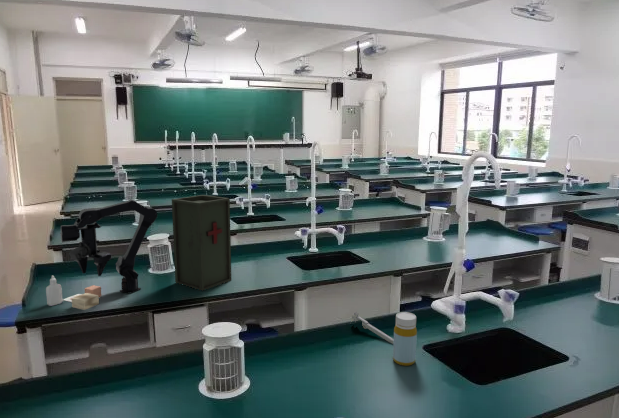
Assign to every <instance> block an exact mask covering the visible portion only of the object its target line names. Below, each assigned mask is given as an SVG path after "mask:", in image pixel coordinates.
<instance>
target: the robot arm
mask: <svg viewBox="0 0 619 418" xmlns="http://www.w3.org/2000/svg"><path fill="white" fill-rule="evenodd" d="M128 211H135V212H136V213H138V214H139V217H138V225H137V228H136V230H135V232H134V233H133V236H132V239H131V241H130V243H129V244H128V247H127V250H126V251H125V254H123V256H121V255H119V256H118V258H117V261H116V263H115V270H116V271H117V273H118V274H119V275H120V276H121V277H122V278H121V289H120V290H119V292H121V293H124V294H133V293H135V292H137V291H140V290H142V288H141V287H139V280H138V279H139V273H138V272H137V271H136V270H135V269H134V267H135V262H136V256H137V255H138V252H139V250H140V247H141V245H142V242H143V241H144V238H145V236H146V234H147V232H148V229H149V228H150V227H151V226H152V225H153V224H154V222H155V221H156V220H157V218H158V212H157V210H156V209H154V208H153V207H151V206H144V205H142V204H140V203H138V202H137V201H136V200H134V199H129V200H126V201H122V202H118V203H114V204H111V205H107V206H103V207H91V208H90V207H88V208H83V209H81V210H80V211H79V214H78V218H77V219H76V220H75V222H74V223H73V224H68V225H66V224H64V225H60V233H59V234H60V241H61V243H67V242H68V243H69V242H76V241H78V239H80V238H81V241H79V243H78V246H77V247H75V248H74V249H72V250H70V252H69V253H68V255H69V258H70V259H71V260H72V261H75V262H77V265H78V266H79V268H80V271H81V272H82V274H86V272H87V269H88V268H87V267H88V259H89V258H93V263H94V264H95V266H96V270H97V276H98V277H101V276H102V274H103V273H104V270H105V267H106V265H107V263H108V262H109V261H110V260H112V258H113V257H112V253H111V252H106V251H102V252H101V251H100V249H98V244H100V240H98V239H97V229H100V228H101V227H102V226H101V225H100V224H99V223H97V222H98V221H100V220H102V219H103V218H105V217H110V216H113V215H117V214H120V213H125V212H128Z"/></svg>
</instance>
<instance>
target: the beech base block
mask: <svg viewBox="0 0 619 418" xmlns="http://www.w3.org/2000/svg"><path fill="white" fill-rule="evenodd" d="M81 294H82V295H79V296H77V297H74V298H72V302H71V307H72V308H73V309H74V308H76V309H78V310H82V311H85V310H89V309H91V308H93V307H95V306H98V305H100V300H99V298H100V297H98V295H94V294H89V293H85V292H84V293H81Z"/></svg>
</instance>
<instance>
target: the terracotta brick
mask: <svg viewBox="0 0 619 418" xmlns="http://www.w3.org/2000/svg"><path fill="white" fill-rule="evenodd" d="M85 293H89V294H94V295H98V297H99V298H102V287H101V286H100V285H94V284H93V285H90V286H87V287H84V294H85Z"/></svg>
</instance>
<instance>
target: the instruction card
mask: <svg viewBox="0 0 619 418" xmlns="http://www.w3.org/2000/svg"><path fill="white" fill-rule="evenodd" d="M82 294H83V293H77V294H74V295H71V296H68V297H66V298H63V302H69V303H72V298H74V297H77V296H79V295H82Z"/></svg>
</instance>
